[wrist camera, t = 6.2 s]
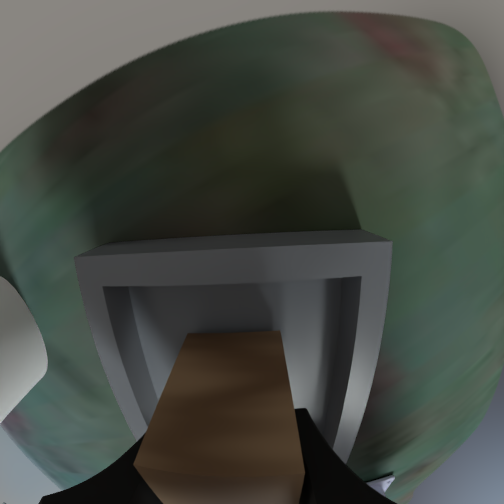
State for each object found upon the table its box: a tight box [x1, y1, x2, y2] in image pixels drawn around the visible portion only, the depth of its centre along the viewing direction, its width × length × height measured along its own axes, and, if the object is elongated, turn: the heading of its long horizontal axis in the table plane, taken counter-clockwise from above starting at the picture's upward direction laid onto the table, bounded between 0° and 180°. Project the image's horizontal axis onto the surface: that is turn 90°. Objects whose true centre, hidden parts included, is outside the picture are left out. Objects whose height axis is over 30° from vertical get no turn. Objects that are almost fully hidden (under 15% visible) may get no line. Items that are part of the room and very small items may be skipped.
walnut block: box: [133, 330, 305, 504], centre depth 8 cm, size 4×6×7 cm, turn 3°
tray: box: [74, 229, 393, 464], centre depth 12 cm, size 14×12×3 cm
